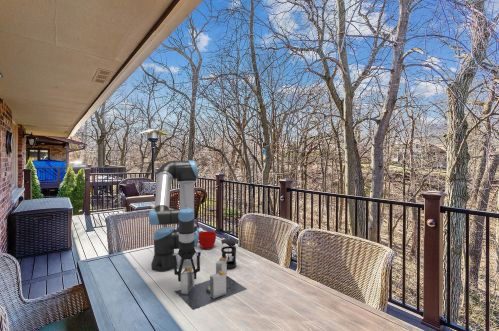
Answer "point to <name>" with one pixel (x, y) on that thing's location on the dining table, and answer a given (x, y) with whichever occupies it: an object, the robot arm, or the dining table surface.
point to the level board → (208, 293)
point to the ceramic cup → (207, 239)
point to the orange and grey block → (186, 280)
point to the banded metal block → (218, 284)
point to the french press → (231, 244)
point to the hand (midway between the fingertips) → (187, 286)
